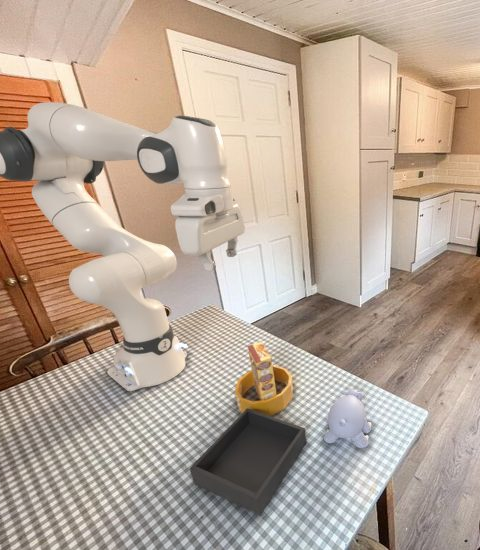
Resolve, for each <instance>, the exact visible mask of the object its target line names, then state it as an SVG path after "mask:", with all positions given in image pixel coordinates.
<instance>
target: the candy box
mask: <svg viewBox="0 0 480 550" xmlns="http://www.w3.org/2000/svg"><path fill="white" fill-rule="evenodd" d="M247 350H248V351H247V352H248V357H249V362H250V367H251V370H252V373H253V378H254V383H255V385H254V388H255V391H256V394H257V397H258V399H259V401H260V400H268V399H270V398H272V397H274V396H276V395H278V393H277V388H276V380H274V373H273V367H272V365H273V359H272V357H271V355H270V353H269V350H268V349H267V348H266V346H265V344H264V343H263V341H260V342H259V341H258V342H256V343H252V344H250V345H248V346H247Z"/></svg>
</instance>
